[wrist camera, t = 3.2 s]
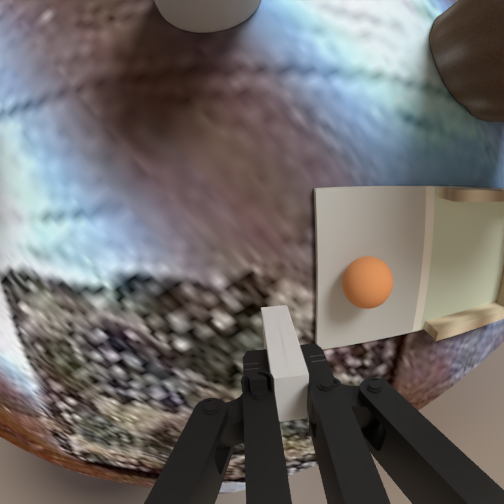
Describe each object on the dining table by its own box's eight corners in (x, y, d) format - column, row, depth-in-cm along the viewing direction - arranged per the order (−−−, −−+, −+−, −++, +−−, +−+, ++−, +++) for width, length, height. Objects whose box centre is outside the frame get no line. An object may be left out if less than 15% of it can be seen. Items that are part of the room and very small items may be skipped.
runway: (314, 346, 26) (316, 350, 25) (313, 188, 22) (315, 188, 21) (496, 305, 27) (499, 307, 26) (511, 188, 23) (515, 189, 22)
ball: (335, 298, 24) (351, 321, 20) (336, 252, 23) (354, 269, 19) (378, 292, 24) (399, 313, 20) (380, 247, 23) (404, 263, 19)
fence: (421, 326, 26) (438, 343, 23) (434, 185, 22) (459, 190, 19) (496, 305, 27) (513, 317, 23) (511, 188, 23) (533, 193, 19)
